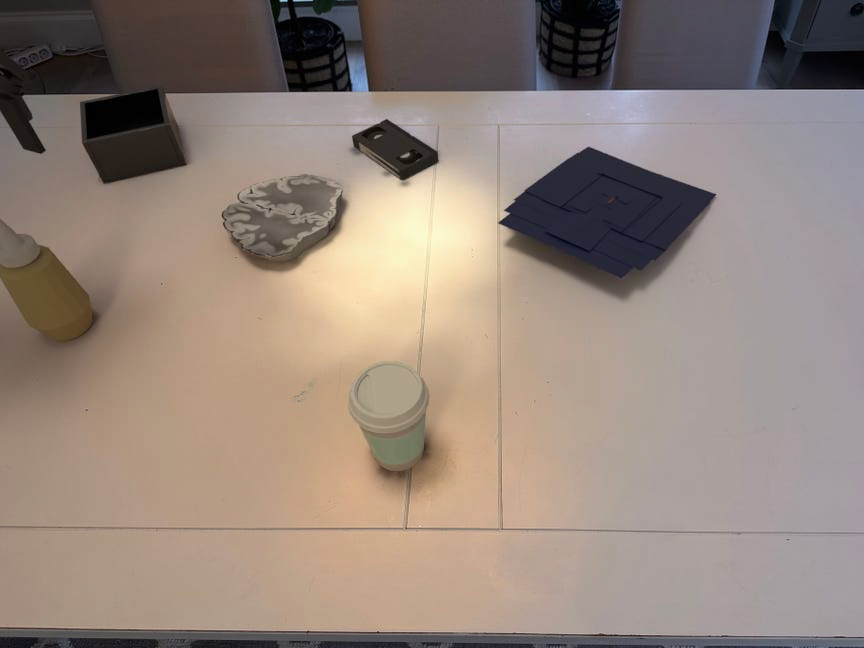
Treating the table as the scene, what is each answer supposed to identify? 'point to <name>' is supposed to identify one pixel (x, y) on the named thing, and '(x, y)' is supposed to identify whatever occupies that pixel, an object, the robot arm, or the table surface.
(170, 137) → the box
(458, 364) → the table surface
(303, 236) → the brain slice
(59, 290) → the squeeze bottle
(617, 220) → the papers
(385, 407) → the coffee cup
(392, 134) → the vhs tape
